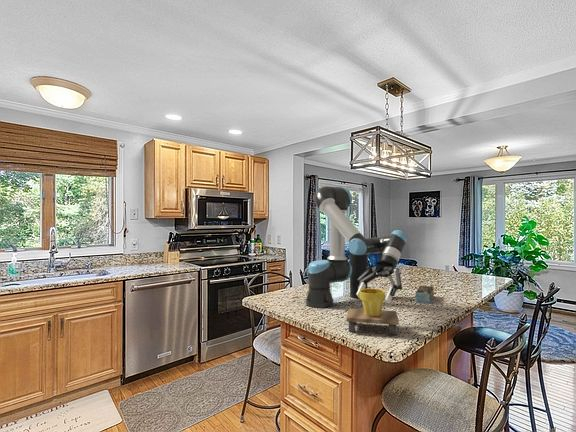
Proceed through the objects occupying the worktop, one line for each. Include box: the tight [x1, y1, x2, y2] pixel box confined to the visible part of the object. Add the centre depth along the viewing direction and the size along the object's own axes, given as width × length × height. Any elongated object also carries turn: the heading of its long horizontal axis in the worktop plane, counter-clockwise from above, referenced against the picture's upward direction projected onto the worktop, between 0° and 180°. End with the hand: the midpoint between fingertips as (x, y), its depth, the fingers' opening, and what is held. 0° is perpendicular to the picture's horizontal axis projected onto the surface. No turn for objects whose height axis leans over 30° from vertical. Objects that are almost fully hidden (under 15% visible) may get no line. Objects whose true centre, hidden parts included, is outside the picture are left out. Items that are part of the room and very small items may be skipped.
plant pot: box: [359, 288, 386, 317], centre depth 129 cm, size 10×10×10 cm
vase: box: [348, 250, 368, 300], centre depth 186 cm, size 10×10×30 cm
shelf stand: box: [345, 307, 400, 337], centre depth 129 cm, size 20×14×6 cm
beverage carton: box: [415, 285, 435, 305], centre depth 177 cm, size 8×19×7 cm, turn 150°
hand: (371, 299), depth 129 cm, fingers open, 13 cm apart
